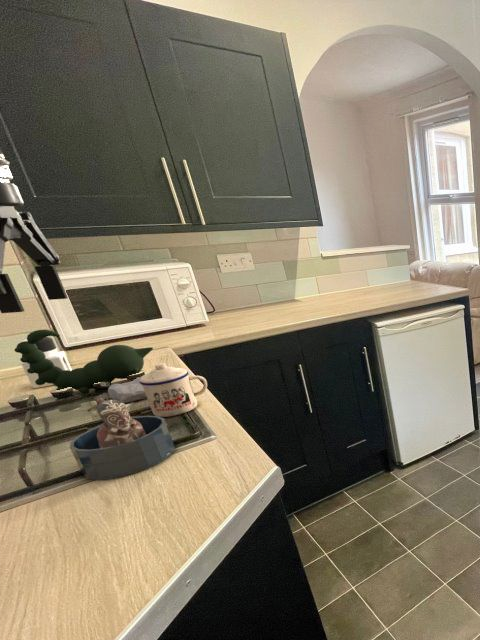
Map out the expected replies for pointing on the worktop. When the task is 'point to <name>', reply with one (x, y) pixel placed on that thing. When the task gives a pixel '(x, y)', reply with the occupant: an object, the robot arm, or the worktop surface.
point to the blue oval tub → (123, 451)
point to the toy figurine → (104, 369)
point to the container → (51, 353)
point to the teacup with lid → (170, 390)
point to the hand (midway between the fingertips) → (37, 305)
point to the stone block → (127, 391)
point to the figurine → (116, 424)
